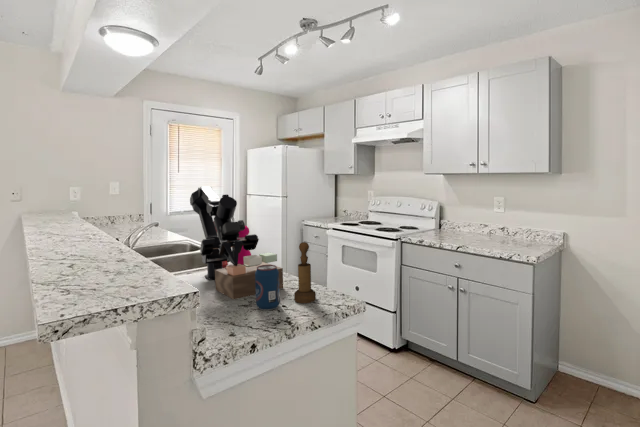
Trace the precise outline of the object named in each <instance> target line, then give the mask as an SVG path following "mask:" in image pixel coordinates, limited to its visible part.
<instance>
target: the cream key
mask: <svg viewBox="0 0 640 427" xmlns="http://www.w3.org/2000/svg"><path fill="white" fill-rule="evenodd" d="M244 264H246V265H249V266H253V265H258V264H262V257H261V256H259V255H257V254H251V256H245V257H244Z"/></svg>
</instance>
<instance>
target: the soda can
mask: <svg viewBox="0 0 640 427" xmlns="http://www.w3.org/2000/svg"><path fill="white" fill-rule="evenodd" d="M277 267H278V265H276V264H271V265H261V266H258V267H257V270H256V272H255V289H256V295H255V304H256V307H257V308H258V309H259V310H261V311H273V310H276V309H278V307H279V305H280V303H281V302H280V300H281V297H280V296H281V294H280V293H281V292H280V290H281V289H279V271H278V270H277Z"/></svg>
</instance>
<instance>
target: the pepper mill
mask: <svg viewBox="0 0 640 427" xmlns="http://www.w3.org/2000/svg"><path fill="white" fill-rule="evenodd" d="M245 235H250V228H249V227H248V226H247V225H245V229H244V230H243V231H240V232H239V238H237V240H240V239H244V238H245ZM251 255H252V253H251V250H245V249H244V248H243V246H242V249H241V252H240V253H238V264H241V265H243V264H244V257H245V256H251Z"/></svg>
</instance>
